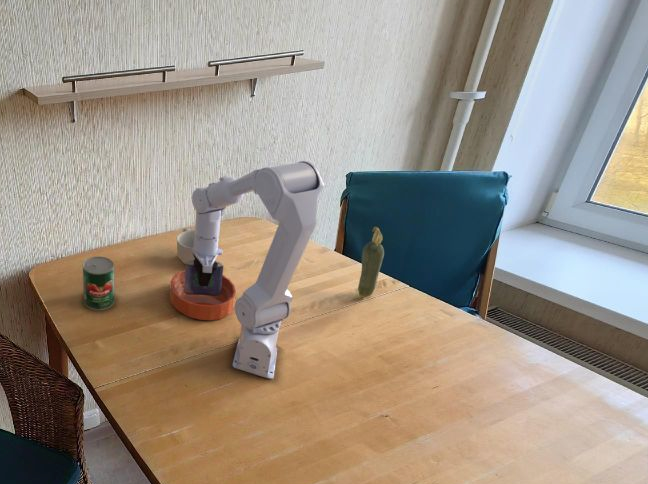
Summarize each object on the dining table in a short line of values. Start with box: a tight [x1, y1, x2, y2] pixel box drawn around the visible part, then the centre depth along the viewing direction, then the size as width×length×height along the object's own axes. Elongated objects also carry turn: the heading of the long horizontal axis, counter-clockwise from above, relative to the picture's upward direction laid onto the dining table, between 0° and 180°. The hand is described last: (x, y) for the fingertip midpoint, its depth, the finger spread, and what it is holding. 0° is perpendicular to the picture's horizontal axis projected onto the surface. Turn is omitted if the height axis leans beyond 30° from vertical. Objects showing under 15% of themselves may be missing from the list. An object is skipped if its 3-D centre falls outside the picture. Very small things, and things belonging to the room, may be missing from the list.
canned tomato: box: [81, 256, 115, 311], centre depth 109 cm, size 8×8×11 cm
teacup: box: [176, 227, 195, 265], centre depth 127 cm, size 14×11×8 cm
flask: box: [184, 260, 224, 297], centre depth 107 cm, size 9×3×11 cm, turn 81°
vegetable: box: [357, 226, 385, 298], centre depth 105 cm, size 4×4×20 cm
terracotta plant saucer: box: [169, 269, 237, 321], centre depth 109 cm, size 16×16×4 cm
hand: (202, 281), depth 107 cm, fingers closed on flask, 3 cm apart
